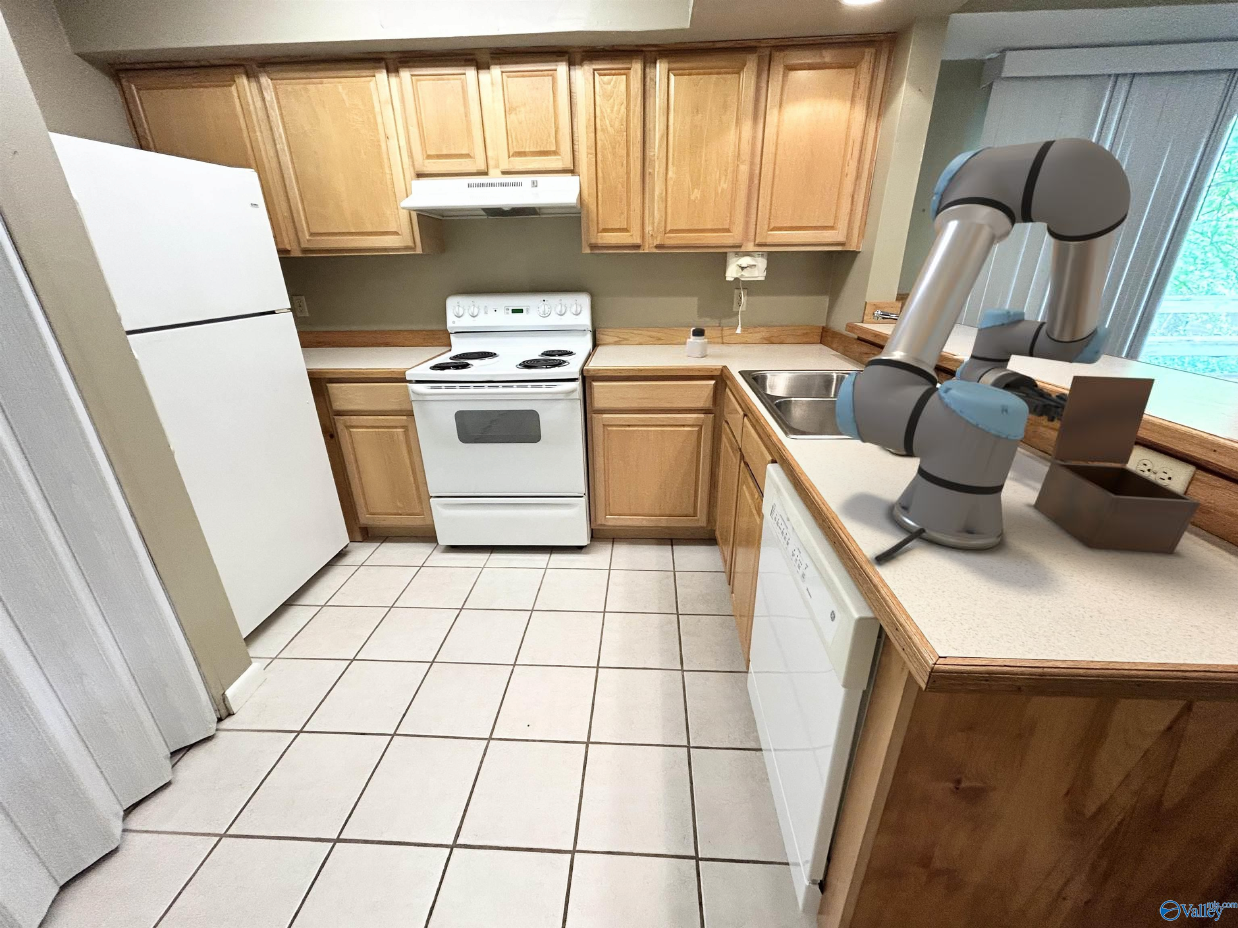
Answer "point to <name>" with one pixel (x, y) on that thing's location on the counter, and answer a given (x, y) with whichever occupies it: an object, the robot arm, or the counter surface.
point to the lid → (1101, 419)
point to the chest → (1115, 507)
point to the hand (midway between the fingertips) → (1090, 423)
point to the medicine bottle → (697, 343)
